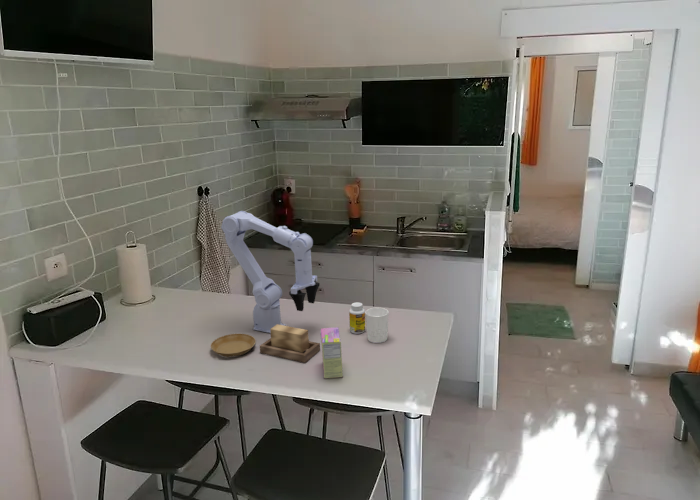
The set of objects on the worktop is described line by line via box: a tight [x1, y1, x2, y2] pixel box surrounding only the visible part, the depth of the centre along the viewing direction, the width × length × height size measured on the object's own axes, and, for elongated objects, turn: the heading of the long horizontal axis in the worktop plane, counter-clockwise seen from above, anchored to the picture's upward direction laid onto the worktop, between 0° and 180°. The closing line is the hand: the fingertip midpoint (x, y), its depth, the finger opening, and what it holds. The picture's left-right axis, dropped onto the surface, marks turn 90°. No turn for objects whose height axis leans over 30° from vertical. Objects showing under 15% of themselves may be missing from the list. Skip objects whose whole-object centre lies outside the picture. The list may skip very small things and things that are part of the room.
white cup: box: [365, 307, 390, 344], centre depth 183 cm, size 8×8×10 cm
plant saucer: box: [210, 333, 257, 358], centre depth 180 cm, size 15×15×3 cm
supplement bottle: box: [348, 302, 366, 335], centre depth 189 cm, size 6×6×10 cm
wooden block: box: [270, 324, 310, 352], centre depth 176 cm, size 12×4×6 cm, turn 63°
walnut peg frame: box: [259, 337, 321, 364], centre depth 177 cm, size 17×9×3 cm, turn 63°
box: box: [320, 326, 343, 379], centre depth 163 cm, size 10×6×12 cm, turn 5°
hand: (305, 306), depth 188 cm, fingers open, 7 cm apart
